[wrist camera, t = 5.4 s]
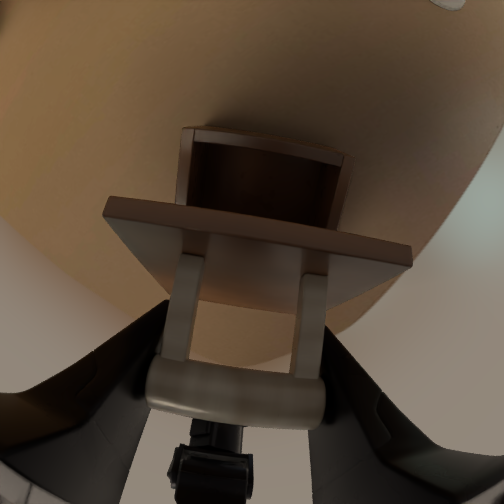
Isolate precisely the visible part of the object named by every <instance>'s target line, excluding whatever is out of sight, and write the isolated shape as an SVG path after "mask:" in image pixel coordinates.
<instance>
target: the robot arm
mask: <svg viewBox="0 0 504 504" xmlns="http://www.w3.org/2000/svg"><path fill="white" fill-rule="evenodd" d="M169 302H170V300H164V301H162V302H161V303H160V304H158V305H157V306H155V307H154V308H152V309H151V310H150V311H148V312H147V313H145V314H144V315H143V316H141V317H140V318H138V319H137V320H135V321H134V322H133V323H131V324H130V325H128V326H127V327H126V328H124V329H123V330H122V331H120V332H118V333H117V334H116V335H114V336H113V337H111V338H110V339H109V340H107V341H106V342H104V343H103V344H102V345H100V346H99V347H98V348H96V349H95V350H94V351H92V352H90V353H89V354H88V355H86V356H85V357H83V358H82V359H80V360H79V361H77V362H76V363H74V364H73V365H71V366H70V367H68V368H66V369H65V370H63V371H61V372H60V373H58V374H56V375H54V376H52V377H50V378H49V379H47V380H45V381H43V382H41V383H40V384H38V385H36V386H34V387H33V388H30V389H28V390H26V391H23V392H19V393H0V504H119V502H120V499H121V495H122V492H123V489H124V486H125V483H126V480H127V477H128V474H129V469H130V467H131V464H132V461H133V458H134V455H135V453H136V450H137V447H138V444H139V441H140V438H141V435H142V432H143V429H144V427H145V424H146V421H147V418H148V415H149V413H150V410H151V408H149V407H148V406H147V404H146V401H145V383H146V377H147V373H148V369H149V366H150V363H151V361H152V359H153V357H154V356H155V355H156V354H157V353H160V350H161V345H162V339H163V333H164V328H165V322H166V317H167V312H168V307H169ZM319 376H320V377H322V379H323V380H324V383H325V387H326V407H325V412H324V416H323V419H322V421H321V423H320V425H319V426H318V427H317V428H316V429H313V430H308V438H309V450H310V463H311V477H312V493H313V494H312V498H313V504H504V455H502V456H489V455H481V454H474V453H467V452H461V451H455V450H450V449H446V448H443V447H441V446H439V445H437V444H435V443H434V442H433V441H432V440H430V439H429V438H428V437H427V436H426V435H425V434H424V433H423V432H422V431H421V430H420V429H419V428H418V427H416V426H415V425H414V424H413V423H412V422H411V421H410V420H409V419H408V418H407V417H406V416H405V415H404V414H403V413H402V412H401V411H400V410H399V409H398V408H397V407H396V406H395V404H394V403H393V402H392V401H391V400H390V399H389V398H388V397H387V395H386V394H385V393H384V392H382V390H381V389H380V388H379V386H378V385H377V384H376V383H375V382H374V380H373V379H372V378H371V377H370V376H369V375H368V374H367V372H366V371H365V370H364V369H363V368H362V367H361V365H360V364H359V363H358V362H357V361H356V360H355V358H354V357H353V356H352V355H351V354H350V353H349V352H348V350H347V349H346V348H345V347H344V346H343V345H342V343H341V342H340V341H339V340H338V339H337V338H336V337H335V335H334V334H333V333H332V332H331V331H330V330H329V328H328V327H327V326H326V325H325V328H324V338H323V347H322V356H321V365H320V373H319ZM243 427H247V426H242V425H234V424H227V423H220V422H213V421H207V420H202V419H196V418H193V419H192V424H191V430H190V436H191V438H190V444H189V446H187V445H185V444H180V446H179V447H176V448H175V451H174V456H173V460H172V462H171V464H170V467H169V470H168V472H167V476H168V477H169V479H170V483H171V488H173V489H176V490H175V501H176V503H177V504H246V499H251V496H252V491H253V480H254V477H253V454H241V453H242V438H243Z"/></svg>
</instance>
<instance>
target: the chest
mask: <svg viewBox="0 0 504 504" xmlns="http://www.w3.org/2000/svg"><path fill="white" fill-rule="evenodd" d="M354 164H355V157H353V156H351V155H348V154H346V153H344V152H341V151H339V150H336V149H334V148H331V147H327V146H323V145H319V144H314V143H310V142H305V141H301V140H296V139H291V138H286V137H280V136H275V135H269V134H263V133H257V132H251V131H244V130H237V129H230V128H222V127H213V126H192V127H183V128H182V135H181V143H180V152H179V162H178V172H177V183H176V196H175V204H179V205H186V206H193V207H200V208H207V209H214V210H220V211H227V212H233V213H239V214H246V215H252V216H258V217H264V218H270V219H275V220H281V221H287V222H292V223H298V224H304V225H309V226H314V227H320V228H325V229H330V230H335V231H337V229H338V226H339V222H340V218H341V215H342V211H343V207H344V204H345V200H346V196H347V192H348V188H349V184H350V180H351V176H352V172H353V168H354Z"/></svg>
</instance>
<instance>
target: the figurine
mask: <svg viewBox="0 0 504 504" xmlns="http://www.w3.org/2000/svg"><path fill="white" fill-rule="evenodd" d="M430 1H431V2H433V3H434V4H436V5H438V6H440V7H442V8H444V9H447V10H451V11H457V10H460V9H461V8H463V6H464V4H465V0H430Z"/></svg>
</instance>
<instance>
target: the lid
mask: <svg viewBox="0 0 504 504" xmlns="http://www.w3.org/2000/svg"><path fill="white" fill-rule="evenodd" d="M102 216H103V218H104V219H105V220H106V221H107V223H108V224H109V225H110V227H111V228H112V229H113V230H114V231H115V233H116V234H117V235H118V236H119V238H120V239H121V240H122V241H123V242H124V244H125V245H126V246H127V247H128V248H129V250H130V251H131V252H132V253H133V254H134V256H135V257H136V258H137V259H138V260H139V261H140V262H141V264H142V265H143V266H144V267H145V268H146V269H147V270H148V272H149V273H150V274H151V275H152V276H153V277H154V278H155V279H156V281H157V282H158V283H159V284H160V285H161V286H162V287H163V288H164V289H165V290H166V291H167V292H168V294H170V295H171V297H170V302H169V307H168V312H167V317H166V322H165V328H164V333H163V339H162V345H161V350H160V353H157V354H156V355H155V356H154V357H153V359H152V361H151V363H150V366H149V369H148V373H147V377H146V383H145V401H146V404H147V406H148V407H149V408H151V409H156V410H159V411H164V412H168V413H172V414H176V415H181V416H186V417H191V418H196V419H202V420H207V421H213V422H220V423H227V424H234V425H242V426H252V427H263V428H277V429H297V430H313V429H316V428H317V427H318V426H319V425H320V423H321V421H322V419H323V416H324V412H325V407H326V387H325V383H324V380H323V379H322V377H320V376H319V373H320V365H321V356H322V347H323V338H324V328H325V316H326V311H327V310H329V309H331V308H333V307H335V306H337V305H339V304H342V303H344V302H346V301H348V300H350V299H352V298H354V297H356V296H358V295H360V294H362V293H364V292H366V291H368V290H370V289H372V288H374V287H376V286H378V285H380V284H382V283H384V282H386V281H387V280H389V279H391V278H393V277H395V276H397V275H399V274H401V273H402V272H404V271H406V270H408V269H410V268H411V267H412V266H413V258H412V248H411V246H408V245H403V244H399V243H394V242H389V241H385V240H380V239H375V238H370V237H365V236H361V235H356V234H351V233H346V232H341V231H335V230H330V229H325V228H320V227H314V226H309V225H304V224H298V223H292V222H287V221H281V220H275V219H270V218H264V217H258V216H252V215H246V214H239V213H233V212H227V211H220V210H214V209H207V208H200V207H193V206H186V205H179V204H172V203H165V202H157V201H149V200H141V199H133V198H125V197H116V196H109V198H108V200H107V203H106V206H105V208H104V211H103V214H102ZM199 300H203V301H208V302H214V303H220V304H226V305H232V306H238V307H245V308H251V309H258V310H265V311H272V312H279V313H287V314H294V315H296V322H295V331H294V339H293V347H292V356H291V363H290V370H289V373H280V372H270V371H261V370H253V369H246V368H238V367H232V366H225V365H219V364H213V363H207V362H201V361H196V360H191V359H189V353H190V347H191V341H192V335H193V329H194V324H195V318H196V312H197V307H198V301H199Z"/></svg>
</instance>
